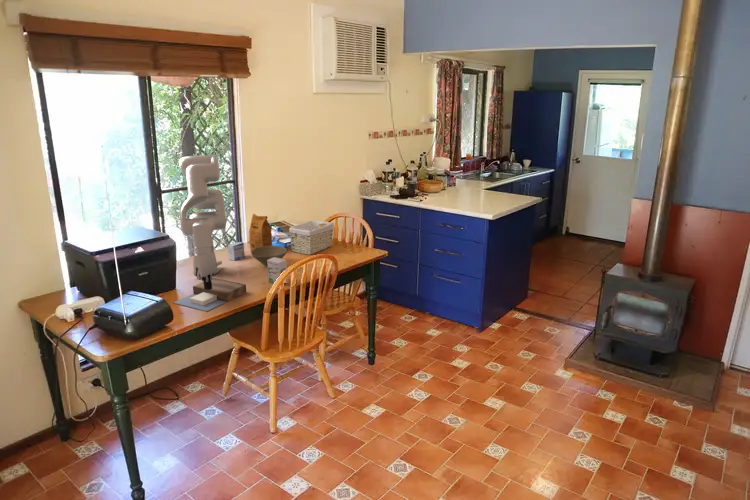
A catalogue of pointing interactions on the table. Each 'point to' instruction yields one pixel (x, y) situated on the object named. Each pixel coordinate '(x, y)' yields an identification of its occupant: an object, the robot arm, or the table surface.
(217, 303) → the mat
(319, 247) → the storage basket
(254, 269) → the table surface
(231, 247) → the medicine box
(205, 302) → the coaster
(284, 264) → the ink box
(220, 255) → the table surface
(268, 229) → the coffee package
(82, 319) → the table surface
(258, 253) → the bowl
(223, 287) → the brown flat block
